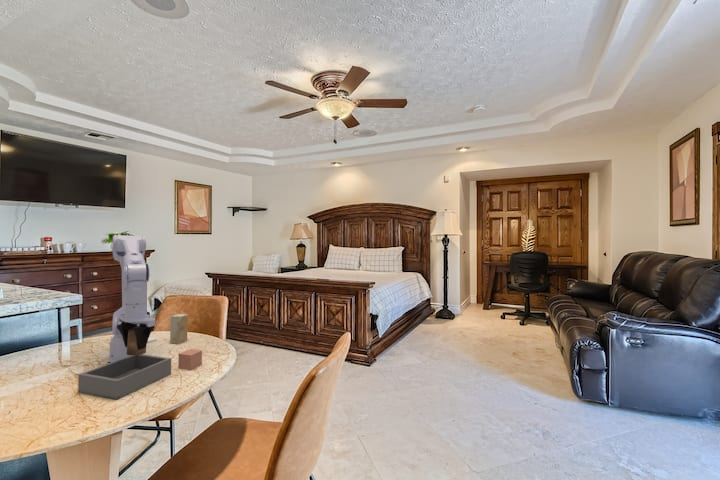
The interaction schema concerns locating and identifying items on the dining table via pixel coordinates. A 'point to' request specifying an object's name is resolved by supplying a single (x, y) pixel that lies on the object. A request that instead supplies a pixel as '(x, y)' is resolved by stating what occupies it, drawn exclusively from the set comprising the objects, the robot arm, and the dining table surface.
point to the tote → (124, 376)
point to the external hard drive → (151, 339)
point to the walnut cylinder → (133, 344)
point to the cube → (190, 359)
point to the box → (178, 328)
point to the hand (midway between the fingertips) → (135, 347)
